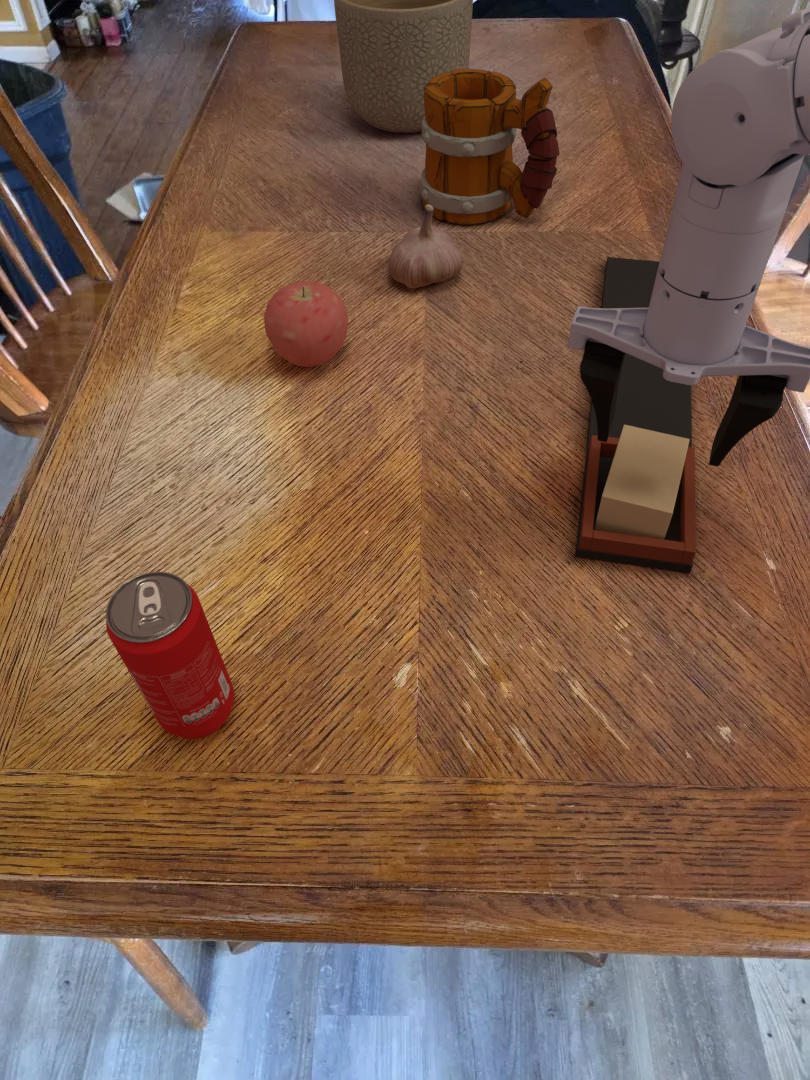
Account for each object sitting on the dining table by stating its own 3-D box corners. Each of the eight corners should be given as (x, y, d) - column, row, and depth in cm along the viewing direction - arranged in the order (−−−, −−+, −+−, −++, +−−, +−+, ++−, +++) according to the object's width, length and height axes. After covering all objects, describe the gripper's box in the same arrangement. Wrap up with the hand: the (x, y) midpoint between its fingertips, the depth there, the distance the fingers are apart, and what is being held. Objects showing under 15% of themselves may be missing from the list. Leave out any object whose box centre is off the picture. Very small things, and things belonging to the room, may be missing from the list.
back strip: (687, 272, 84) (693, 250, 82) (689, 574, 60) (698, 553, 58) (605, 265, 86) (609, 243, 84) (574, 557, 61) (579, 536, 59)
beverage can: (162, 754, 52) (102, 655, 43) (156, 685, 55) (99, 579, 46) (242, 733, 53) (201, 632, 43) (231, 666, 56) (191, 558, 46)
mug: (449, 171, 100) (451, 35, 88) (570, 207, 93) (589, 65, 82) (399, 209, 94) (395, 69, 82) (524, 250, 88) (538, 105, 76)
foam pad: (677, 475, 65) (689, 438, 62) (660, 549, 60) (672, 513, 57) (615, 460, 66) (624, 424, 63) (593, 531, 61) (601, 496, 58)
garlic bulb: (472, 267, 86) (475, 195, 80) (444, 305, 82) (444, 231, 76) (408, 252, 88) (406, 180, 82) (377, 287, 84) (372, 214, 78)
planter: (472, 91, 114) (476, -38, 102) (465, 147, 103) (469, 10, 91) (353, 90, 116) (344, -38, 104) (334, 145, 105) (321, 9, 93)
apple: (366, 359, 77) (360, 285, 71) (304, 394, 74) (292, 319, 68) (319, 324, 80) (309, 251, 74) (258, 356, 77) (242, 283, 71)
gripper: (569, 288, 46) (544, 459, 56) (842, 335, 42) (762, 508, 53) (594, 225, 50) (567, 395, 61) (845, 264, 47) (770, 437, 57)
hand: (659, 444), depth 57 cm, fingers open, 7 cm apart
